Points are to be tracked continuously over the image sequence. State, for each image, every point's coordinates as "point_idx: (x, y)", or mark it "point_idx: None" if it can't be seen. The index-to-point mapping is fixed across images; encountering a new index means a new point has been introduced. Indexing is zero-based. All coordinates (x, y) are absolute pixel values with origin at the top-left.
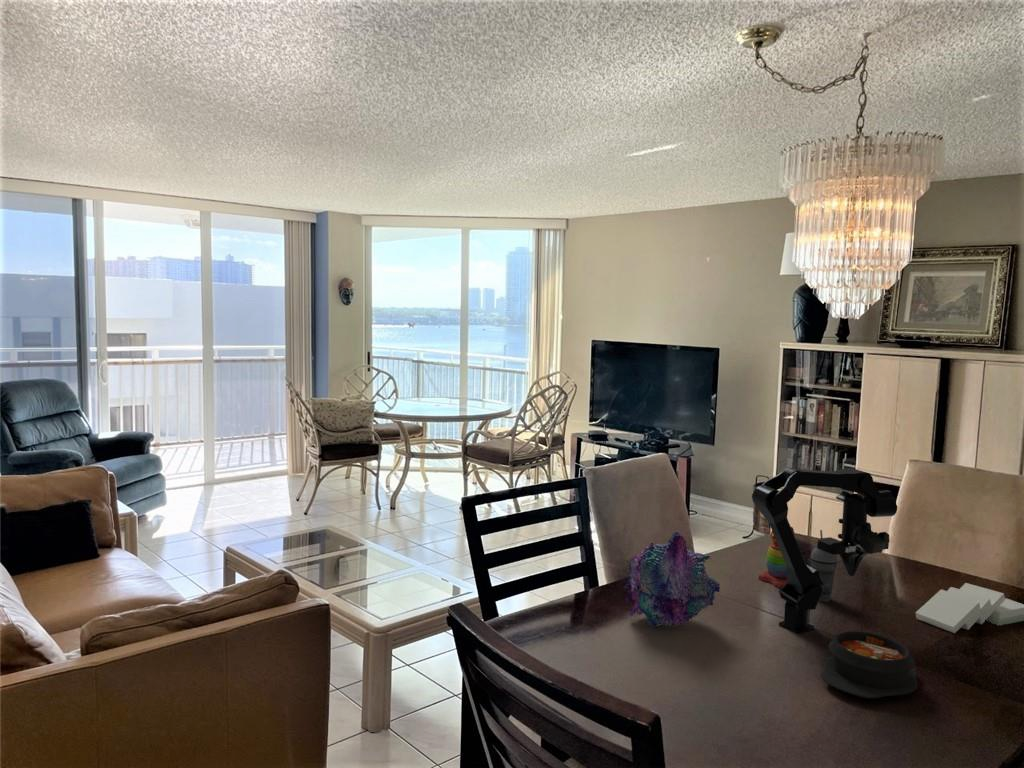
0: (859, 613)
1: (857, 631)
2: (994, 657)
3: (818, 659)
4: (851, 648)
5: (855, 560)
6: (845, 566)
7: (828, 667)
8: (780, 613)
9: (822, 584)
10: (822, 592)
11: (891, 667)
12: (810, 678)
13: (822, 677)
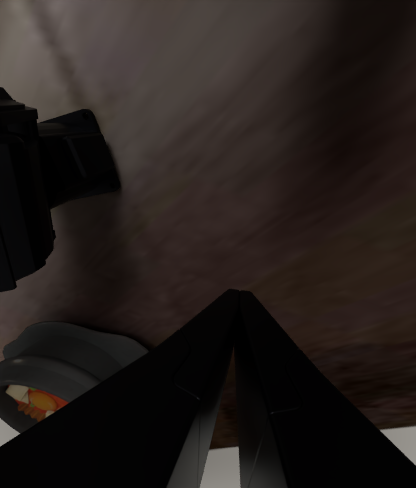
0: (371, 145)
1: (52, 393)
2: (376, 411)
3: (48, 293)
4: (31, 389)
5: (242, 448)
6: (201, 315)
7: (24, 342)
8: (78, 33)
9: (11, 284)
10: (42, 266)
11: None
12: (7, 322)
13: (3, 351)
